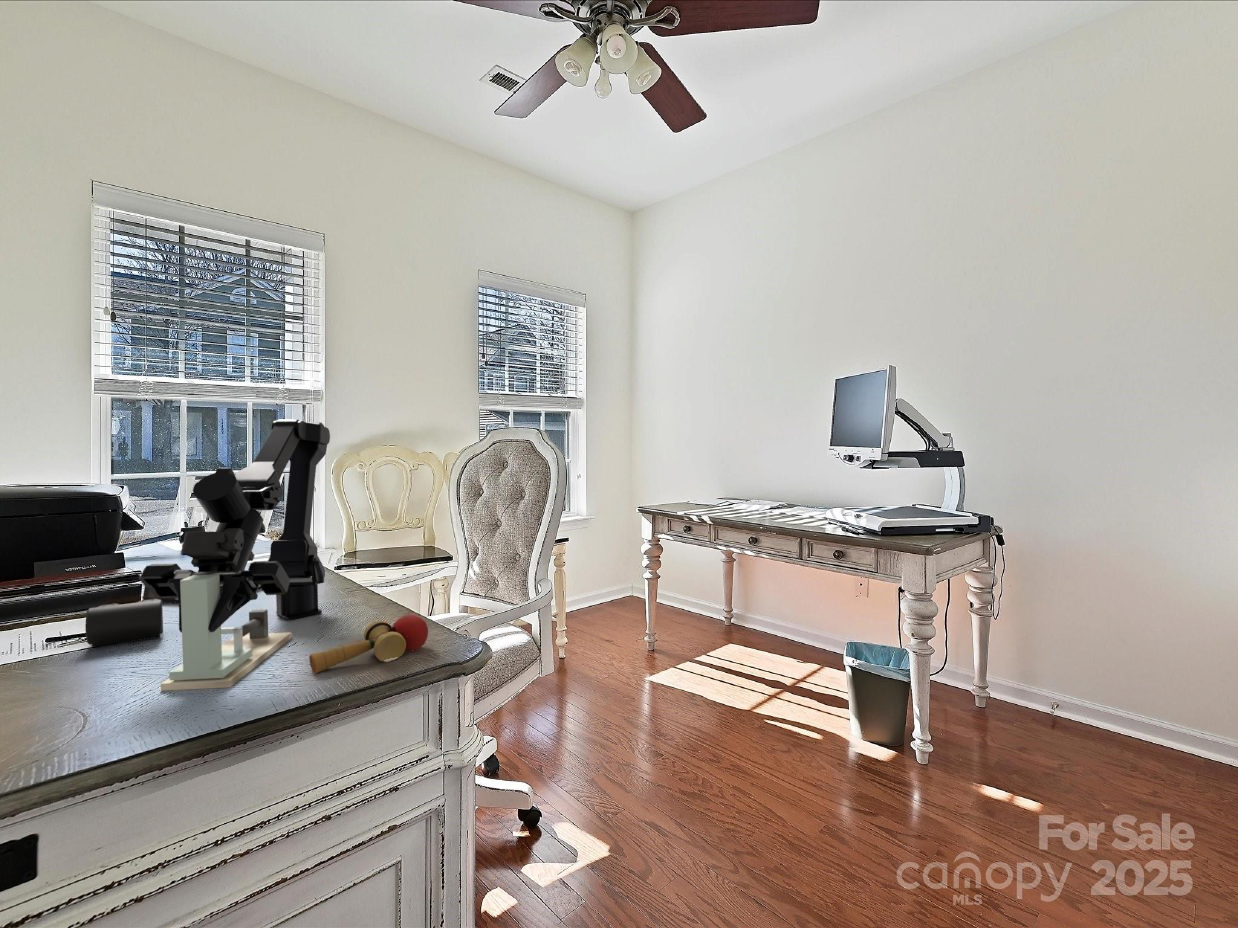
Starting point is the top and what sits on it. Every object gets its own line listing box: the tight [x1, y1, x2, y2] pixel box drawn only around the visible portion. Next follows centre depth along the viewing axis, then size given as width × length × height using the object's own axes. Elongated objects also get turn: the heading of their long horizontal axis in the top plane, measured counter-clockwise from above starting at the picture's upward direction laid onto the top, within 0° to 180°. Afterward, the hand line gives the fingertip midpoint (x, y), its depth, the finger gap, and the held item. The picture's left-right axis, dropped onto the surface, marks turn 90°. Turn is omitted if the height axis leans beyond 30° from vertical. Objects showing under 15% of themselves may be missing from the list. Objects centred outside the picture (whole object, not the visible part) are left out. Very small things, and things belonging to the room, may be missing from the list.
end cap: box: [85, 598, 164, 648], centre depth 104 cm, size 10×7×7 cm
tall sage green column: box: [168, 574, 252, 680], centre depth 88 cm, size 8×7×14 cm
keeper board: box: [160, 609, 293, 692], centre depth 94 cm, size 21×9×6 cm, turn 7°
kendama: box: [309, 614, 429, 674], centre depth 96 cm, size 8×6×18 cm
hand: (196, 631), depth 84 cm, fingers closed on tall sage green column, 3 cm apart
